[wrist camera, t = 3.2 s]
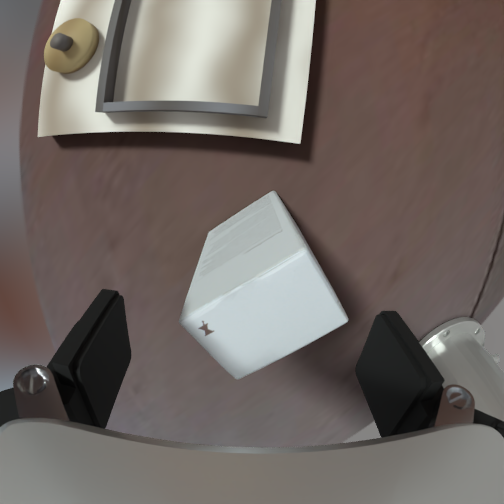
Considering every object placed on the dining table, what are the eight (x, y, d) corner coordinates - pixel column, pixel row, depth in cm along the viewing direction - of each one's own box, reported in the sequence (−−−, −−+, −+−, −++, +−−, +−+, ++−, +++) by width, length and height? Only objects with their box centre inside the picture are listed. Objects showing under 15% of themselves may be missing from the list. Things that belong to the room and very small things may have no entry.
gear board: (312, -18, 15) (325, -45, 11) (295, 143, 20) (308, 145, 16) (77, -9, 14) (51, -26, 10) (51, 135, 19) (17, 139, 15)
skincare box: (239, 273, 24) (233, 384, 13) (207, 231, 23) (172, 321, 12) (304, 233, 23) (352, 323, 12) (275, 187, 22) (304, 243, 11)
